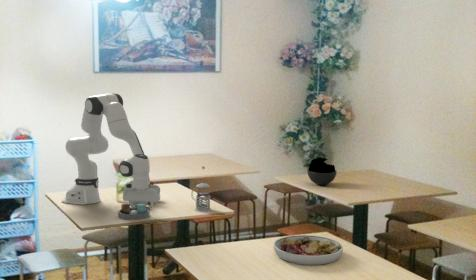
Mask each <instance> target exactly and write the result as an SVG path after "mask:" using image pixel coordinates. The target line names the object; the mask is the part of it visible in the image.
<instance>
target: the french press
mask: <svg viewBox="0 0 476 280" xmlns="http://www.w3.org/2000/svg"><path fill="white" fill-rule="evenodd" d="M205 167H206V166H201V169H202V170H204V169H206V168H205ZM210 187H211V185H210V184H208V183H206V182H201V183H198V184H196V186H195V188H193V189H192V190H191V192H190V193H191V199H192V200H194V201H195V208H194V211H196V212H200V213H201V212H202V213H205V212H211V211H212V208H211V206H210V205H211V195H210V192H209V191H198V188H199V189H209V188H210ZM194 190H195V191H197V192H196V196H195V198H194V195H193V192H194Z"/></svg>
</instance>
